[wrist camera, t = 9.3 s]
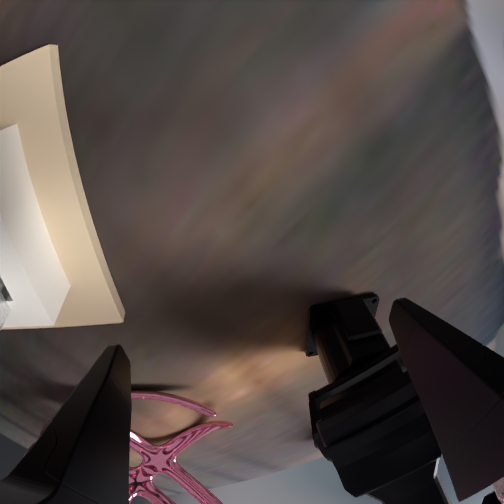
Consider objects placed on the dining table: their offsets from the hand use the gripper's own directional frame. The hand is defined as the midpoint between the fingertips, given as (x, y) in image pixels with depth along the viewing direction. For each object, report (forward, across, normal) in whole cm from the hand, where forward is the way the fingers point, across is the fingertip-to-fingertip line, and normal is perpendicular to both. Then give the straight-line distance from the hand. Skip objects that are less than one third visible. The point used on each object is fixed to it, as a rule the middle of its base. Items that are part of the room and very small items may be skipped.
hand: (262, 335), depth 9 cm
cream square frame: (+12, +17, -2) cm, 21 cm away
